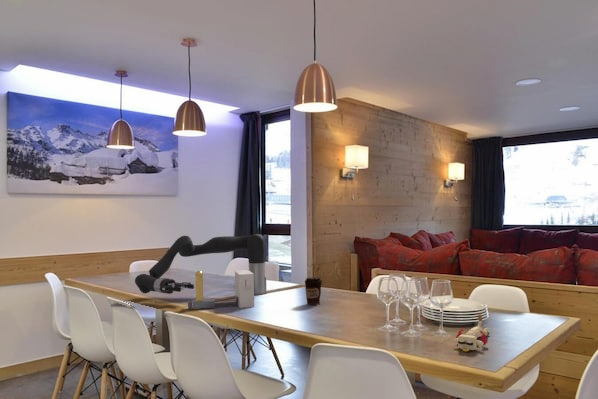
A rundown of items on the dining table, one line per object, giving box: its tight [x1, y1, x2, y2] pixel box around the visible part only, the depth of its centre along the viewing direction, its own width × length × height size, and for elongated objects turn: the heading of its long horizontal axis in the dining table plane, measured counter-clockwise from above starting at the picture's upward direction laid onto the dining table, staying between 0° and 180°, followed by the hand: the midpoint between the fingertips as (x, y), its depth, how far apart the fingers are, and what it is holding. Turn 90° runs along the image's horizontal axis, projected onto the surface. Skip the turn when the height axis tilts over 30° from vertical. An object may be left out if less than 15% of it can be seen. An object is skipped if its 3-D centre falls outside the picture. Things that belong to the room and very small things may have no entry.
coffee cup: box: [304, 276, 323, 306], centre depth 228 cm, size 9×8×13 cm
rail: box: [187, 300, 239, 311], centre depth 228 cm, size 26×4×4 cm, turn 107°
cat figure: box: [452, 314, 490, 352], centre depth 159 cm, size 10×9×25 cm
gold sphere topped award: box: [192, 270, 216, 310], centre depth 226 cm, size 10×7×18 cm
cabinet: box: [234, 269, 255, 309], centre depth 231 cm, size 8×15×16 cm, turn 17°
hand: (187, 288), depth 230 cm, fingers open, 8 cm apart
